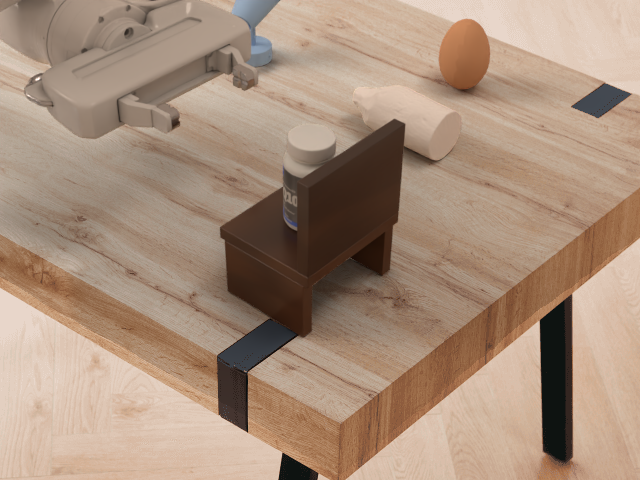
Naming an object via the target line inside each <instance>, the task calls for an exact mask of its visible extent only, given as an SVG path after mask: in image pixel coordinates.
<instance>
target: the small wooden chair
mask: <svg viewBox="0 0 640 480" xmlns="http://www.w3.org/2000/svg"><path fill="white" fill-rule="evenodd" d="M405 125H406V124H405V123H403V122H401V121H399V120H397V119H393V120H391V121H390V122H388V123H387V124H385V125H384V126H382V127H381V128H379V129H377V130H376V131H373V132H371V133H369V134H368V135H367V136H365V137H363V138H362V139H361V140H359V141H357V142H356V143H355V144H352V145H351V146H350V147H348V148H346V149H345V150H343V151H342V152H341V153H339V154H338V155H337V156H336V157H334V158H333V159H331V160H330V161H328V162H327V163H325V164H323V165H322V166H320V167H319V168H317V169H316V170H314V171H313V172H311V173H310V174H308V175H306V176H305V177H303V178H302V179H300V180H299V181H297V231H296V230H294V229H292V228H290V227H289V226H288V225H287V223H286V222H285V220H284V216H283V186H282V187H280V188H278V189H276V190H275V191H273V192H272V193H271V194H269V195H267V196H265V197H264V198H262V199H261V200H259V201H258V202H256V203H255V204H253V205H251V206H250V207H249V208H247V209H246V210H244V211H242V212H241V213H239V214H238V215H236V216H235V217H233V218H232V219H230V220H228V221H227V222H225V223H224V224H222V225H221V226H219V237H220V239H222V240H223V241H224V254H225V269H226V271H225V273H226V284H227V285H226V286H227V287H226V288H227V292H228V293H230V294H231V295H233V296H235V297H237V299H239V300H241V301H243V302H245V303H246V304H247V305H249V306H251V307H252V308H254V309H256V310H257V311H258V312H261V313H262V314H264V315H266V316H267V317H268V318H271V320H273V321H275V322H277V323H279V325H282V326H284V327H285V328H287V329H288V330H290V331H292V332H293V333H295V334H296V335H298V336H299V337H301V338H305V337H306V336H307V335H308V334H310V333H311V332H312V331H313V286H314V285H316V284H317V283H318V282H319V281H321V280H322V279H324V278H325V277H326V276H327V275H329V274H330V273H332V272H333V271H334V270H335V269H337V268H338V267H340V266H341V265H343V263H345V262H346V261H348V260H349V259H351V261H354V262H356V263H358V264H360V265H361V266H363V267H365V268H367V269H369V270H370V271H372V272H373V273H376V274H378V275H379V276H381V277H383V276H384V275H385V274H386V273H388V272H389V271H391V261H392V247H393V235H394V233H393V232H394V226H395V225H396V224H398V222H399V215H400V214H399V213H400V200H401V189H402V188H401V187H402V176H403V163H404V152H405V151H404V148H405V146H404V138H405Z"/></svg>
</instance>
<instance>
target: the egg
mask: <svg viewBox="0 0 640 480" xmlns="http://www.w3.org/2000/svg"><path fill="white" fill-rule="evenodd" d="M438 51H439V52H438V67H439V71H440V73H441V76H442V77H443V79H444V80H445V81H446V83H447V84H448V85H449V86H451V87H453V89H457V90H468V89H471V88H474V86H476V85H477V84H479V83H480V82H481V81H482V80H483V78H484V77H485V75H486V74H487V71H488V70H489V67H490V62H491V46H490V42H489V39H488V36H487V33H486V31H485V28H483V26H482V25H481V24H480V23H479V22H477V21H476V20H474V19H473V18H463V19H459V20H457V21H456V22H454V23H453V24H452V25H451V26H450V27H449V29H448V30H447V31H446V33H445V35H444V36H443V38H442V41H441V43H440V46H439V50H438Z"/></svg>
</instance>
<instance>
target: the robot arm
mask: <svg viewBox="0 0 640 480" xmlns="http://www.w3.org/2000/svg"><path fill="white" fill-rule="evenodd" d="M0 40H1V41H2V42H3V43H4V44H6V45H7V46H8V47H10V48H12V49H13V50H14V51H16V52H18V53H20V54H21V55H23V56H24V57H26V58H28V59H30V60H32V61H34V62H36V63H39V64H42V65H46V66H47V65H48V66H49V68H47V69H46V70H45V71H44V72H39V73H36V74H34V75H32V76H31V77H30V78H29V79H28V82H27V84H26V85H25V86H24V89H23V94H24V96H25V98H26V99H27V100H28V101H30V102H31V103H33V104H35V105H36V106H39V107H40V108H41V107H42V108H46V111H47V112H48V113H49V114H50V116H51V117H52V118H53V119H55V120H56V121H57V122H58V123H59V124H60V125H61V126H63V127H64V128H65V129H66V130H68V131H69V132H70V133H72V134H74V135H75V136H77V137H79V138H80V139H88V140H89V139H90V140H97V139H100V138H102V137H104V136H105V135H107V134H110V133H111V132H113V131H116V130H117V129H119V128H121V127H123V126H124V125H127V126H129V127H132V128H149V129H153V128H154V129H156V130H158V131H159V132H161V133H163V134H166V135H167V134H169V133H170V132H173V131H174V130H175V129H178V128H179V127H180V126H181V121H180V118H181V115H180V114H181V113H180V112H179V110H178V109H177V108H176V107H172V106H171V105H170V104H168V103H169V102H172V101H173V100H175V99H177V98H179V97H181V96H183V95H185V94H187V93H189V92H191V91H193V90H194V89H197V88H198V87H200V86H202V85H205V84H207V83H208V82H210V81H212V80H214V79H216V78H218V77H219V76H222V75H224V74H225V75H227V76H230V75H232V76H233V77H232V86H233V87H235V88H238V89H241V91H243V92H245V91H246V92H247V91H248V90H251V88H254V87H256V86H258V85H259V71H258V69H257V67H253V66H251V65H249V64H247V63H245V62H247V61H249V59H250V57H251V34H250V29H249V26H248V24H247V23H246V21H244V20H243V19H241V18H240V17H238V16H236V15H234V14H232V13H231V12H230V11H229V10H226V9H223V8H221V7H220V6H217V5H214V4H212V3H210V2H207V1H204V0H0Z"/></svg>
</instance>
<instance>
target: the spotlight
mask: <svg viewBox="0 0 640 480" xmlns="http://www.w3.org/2000/svg"><path fill="white" fill-rule="evenodd" d="M280 2H281V0H235V1H234V4H233V7H232V9H231V12H230V13H232V14H234V15H236V16H238V17H240V18H241V19H243V20H244V21H246V23H247V24H248V26H249V29H250V34H251V57H250V59H249V61H247V62H245V63H247V64H249V65H251V66H253V67H255V68H258V67H262V66H266V65H268V64H269V63H271V61H272V60H273V43H272V42H271V40H270V39H268V38H267V37H265V36H261V35H256V27H257V26H258V25H259V24H261V22H262V21H263V20H264V19H265V18H266V17H267V16H268V15H269V14H270V13H271V11H272V10H273V9H274V8H275V7H276V6H277V5H278V4H279V3H280Z"/></svg>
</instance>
